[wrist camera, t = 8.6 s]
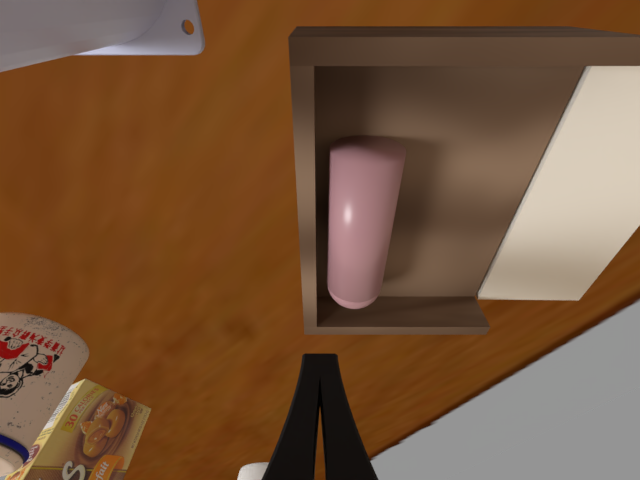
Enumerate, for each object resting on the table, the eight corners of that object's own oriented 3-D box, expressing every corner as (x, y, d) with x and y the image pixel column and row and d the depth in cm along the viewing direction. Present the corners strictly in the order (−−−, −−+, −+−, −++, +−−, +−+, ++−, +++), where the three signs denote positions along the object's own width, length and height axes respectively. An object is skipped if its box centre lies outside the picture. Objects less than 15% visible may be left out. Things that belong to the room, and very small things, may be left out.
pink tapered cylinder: (328, 135, 14) (330, 165, 12) (397, 135, 14) (414, 165, 12) (326, 280, 20) (326, 320, 18) (374, 280, 20) (382, 320, 18)
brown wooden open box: (296, 26, 13) (288, 37, 10) (568, 26, 13) (659, 37, 10) (306, 283, 23) (304, 334, 20) (460, 283, 23) (486, 334, 20)
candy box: (63, 386, 33) (-81, 604, 21) (86, 375, 32) (-54, 603, 20) (131, 415, 38) (45, 607, 26) (154, 407, 37) (74, 606, 25)
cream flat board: (602, 45, 12) (784, 46, 12) (588, 43, 12) (761, 43, 12) (477, 299, 21) (578, 300, 21) (473, 290, 22) (571, 291, 22)
